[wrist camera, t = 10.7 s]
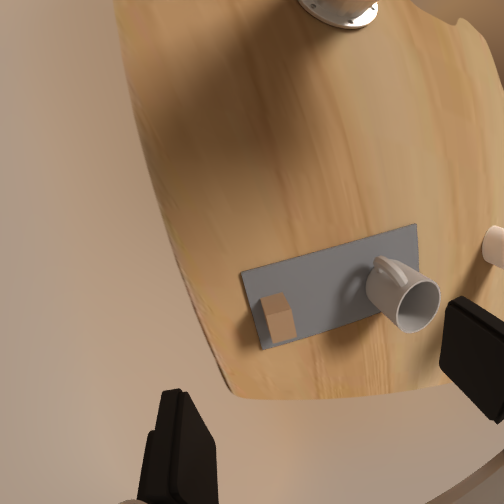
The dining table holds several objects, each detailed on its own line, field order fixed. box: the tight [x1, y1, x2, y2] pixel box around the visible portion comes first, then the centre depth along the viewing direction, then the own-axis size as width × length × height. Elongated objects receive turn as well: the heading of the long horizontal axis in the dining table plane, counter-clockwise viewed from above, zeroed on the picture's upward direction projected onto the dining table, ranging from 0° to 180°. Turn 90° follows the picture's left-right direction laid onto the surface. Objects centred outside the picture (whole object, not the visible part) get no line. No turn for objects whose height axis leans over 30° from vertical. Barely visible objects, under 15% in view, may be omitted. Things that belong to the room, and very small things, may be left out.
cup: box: [366, 256, 441, 333], centre depth 35 cm, size 7×10×9 cm
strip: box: [241, 224, 419, 350], centre depth 37 cm, size 12×26×5 cm, turn 104°
